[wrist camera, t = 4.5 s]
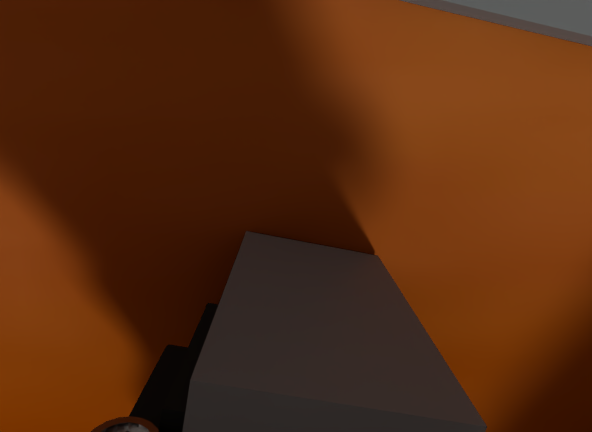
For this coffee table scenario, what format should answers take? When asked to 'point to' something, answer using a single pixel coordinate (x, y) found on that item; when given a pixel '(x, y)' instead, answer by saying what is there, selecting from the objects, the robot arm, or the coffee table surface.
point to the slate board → (527, 15)
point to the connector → (320, 350)
